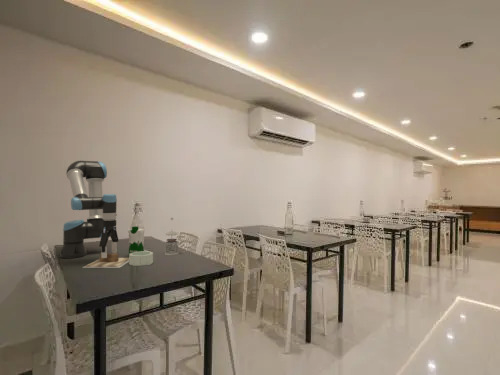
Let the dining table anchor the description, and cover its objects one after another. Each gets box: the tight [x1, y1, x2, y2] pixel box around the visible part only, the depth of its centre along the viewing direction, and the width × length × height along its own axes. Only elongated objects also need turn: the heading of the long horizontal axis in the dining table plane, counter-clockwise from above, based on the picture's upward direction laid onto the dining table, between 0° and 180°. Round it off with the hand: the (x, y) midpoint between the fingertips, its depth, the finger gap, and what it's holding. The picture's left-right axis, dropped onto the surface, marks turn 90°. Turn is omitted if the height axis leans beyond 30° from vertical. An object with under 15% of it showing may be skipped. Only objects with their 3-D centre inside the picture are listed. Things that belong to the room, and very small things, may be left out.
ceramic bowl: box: [128, 250, 154, 267], centre depth 178 cm, size 13×13×6 cm
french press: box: [164, 217, 183, 256], centre depth 205 cm, size 10×12×25 cm
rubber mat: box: [81, 260, 129, 269], centre depth 177 cm, size 21×21×1 cm
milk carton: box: [127, 226, 146, 255], centre depth 195 cm, size 9×9×20 cm
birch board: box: [85, 253, 129, 267], centre depth 177 cm, size 18×18×5 cm
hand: (109, 255), depth 177 cm, fingers open, 13 cm apart
